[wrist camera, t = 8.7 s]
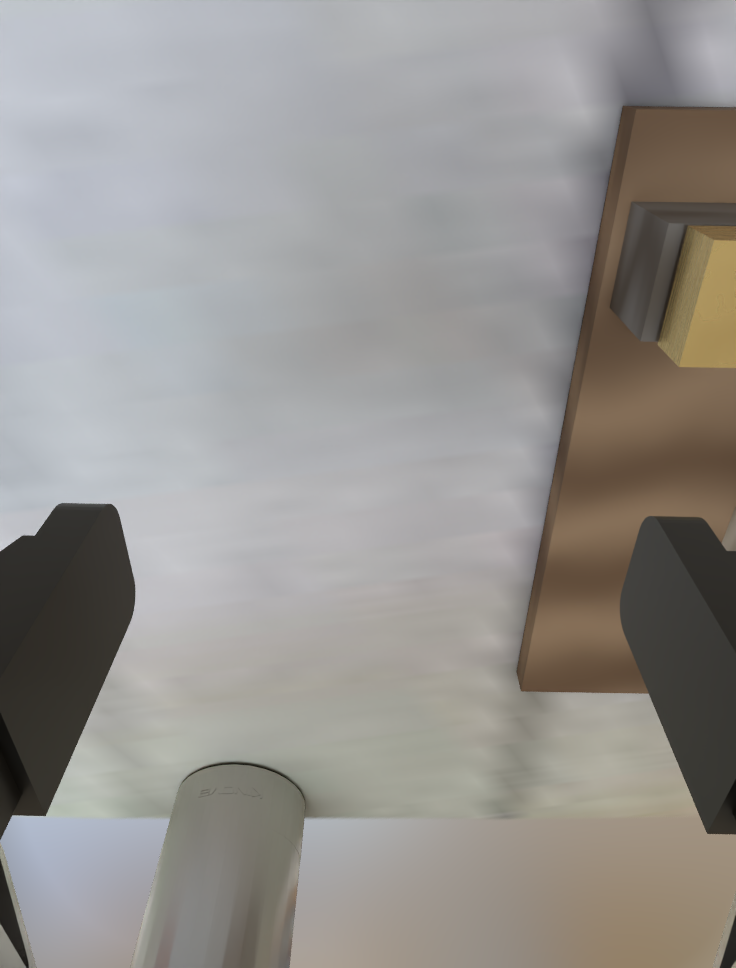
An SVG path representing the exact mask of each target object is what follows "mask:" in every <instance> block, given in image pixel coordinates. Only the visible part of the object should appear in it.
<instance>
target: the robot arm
mask: <svg viewBox="0 0 736 968" xmlns="http://www.w3.org/2000/svg"><path fill="white" fill-rule="evenodd" d="M134 605H135V582H134V577H133V573H132V568H131V564H130V560H129V555H128V551H127V547H126V543H125V538H124V534H123V530H122V525H121V521H120V517H119V514H118V511H117V509H116V508H115V507H114V506H113V505H112V504H77V503H61V504H59V505H57V506H56V507H55V508H54V510H53V511H52V512H51V514H50V515H49V517H48V518H47V519H46V521H45V522H44V524H43V525H42V527H41V528H40V529H39V531H38V532H37V534H36V535H35V536H21V537H20V538H19V539H17V540H16V541H14V542H13V543H12V544H10V545H9V546H7V547H6V548H5V549H3V550H2V551H0V839H1V837H2V835H3V833H4V831H5V829H6V827H7V825H8V823H9V821H10V819H11V817H12V815H26V816H46V814H47V811H48V809H49V807H50V805H51V802H52V800H53V798H54V795H55V793H56V791H57V788H58V786H59V784H60V782H61V779H62V777H63V775H64V772H65V770H66V768H67V766H68V763H69V761H70V759H71V756H72V754H73V752H74V750H75V747H76V745H77V743H78V740H79V738H80V736H81V734H82V731H83V729H84V727H85V724H86V722H87V720H88V718H89V715H90V713H91V711H92V708H93V706H94V704H95V702H96V699H97V697H98V695H99V692H100V690H101V688H102V686H103V683H104V681H105V679H106V676H107V674H108V672H109V670H110V667H111V665H112V663H113V660H114V658H115V656H116V654H117V651H118V649H119V647H120V644H121V642H122V640H123V638H124V635H125V633H126V631H127V628H128V626H129V624H130V621H131V619H132V615H133V611H134ZM620 619H621V625H622V629H623V632H624V635H625V637H626V640H627V642H628V645H629V647H630V649H631V652H632V654H633V657H634V659H635V661H636V664H637V666H638V669H639V671H640V673H641V676H642V678H643V681H644V683H645V685H646V688H647V690H648V693H649V695H650V697H651V700H652V702H653V705H654V707H655V709H656V712H657V714H658V717H659V719H660V721H661V724H662V726H663V729H664V731H665V733H666V736H667V738H668V741H669V743H670V745H671V748H672V750H673V753H674V755H675V757H676V760H677V762H678V765H679V767H680V769H681V772H682V774H683V777H684V779H685V781H686V784H687V786H688V789H689V791H690V793H691V796H692V798H693V801H694V803H695V806H696V808H697V810H698V813H699V815H700V818H701V820H702V822H703V825H704V827H705V830H706V832H707V833H708V834H736V551H726V549H725V548H724V546H723V545H722V543H721V542H720V541H719V539H718V538H717V536H716V535H715V533H714V532H713V530H712V529H711V527H710V526H709V525H708V523H707V522H706V521H705V520H704V519H703V518H701V517H675V516H648V517H646V518H645V519H644V521H643V522H642V524H641V526H640V529H639V533H638V536H637V539H636V543H635V546H634V550H633V553H632V557H631V560H630V564H629V567H628V571H627V574H626V577H625V581H624V584H623V588H622V592H621V597H620ZM304 817H305V801H304V798H303V796H302V793H301V792H300V791H299V790H298V788H297V787H296V786H295V785H294V784H293V783H291V782H290V781H289V780H288V779H286V778H284V777H282V776H280V775H279V774H277V773H274V772H272V771H269V770H266V769H263V768H258V767H254V766H248V765H236V764H233V765H219V766H214V767H209V768H206V769H203V770H200V771H198V772H196V773H194V774H192V775H191V776H189V777H188V778H187V779H186V780H185V781H184V782H183V783H182V784H181V786H180V788H179V790H178V792H177V796H176V800H175V803H174V807H173V811H172V814H171V818H170V822H169V826H168V829H167V833H166V837H165V841H164V844H163V847H162V850H161V854H160V858H159V862H158V865H157V869H156V873H155V877H154V880H153V884H152V887H151V891H150V895H149V899H148V902H147V906H146V910H145V914H144V917H143V921H142V925H141V928H140V932H139V936H138V939H137V943H136V947H135V950H134V954H133V958H132V962H131V965H130V968H289V967H290V966H289V965H290V957H291V946H292V936H293V926H294V915H295V906H296V896H297V886H298V876H299V866H300V858H301V847H302V837H303V826H304ZM0 968H37V967H36V964H35V960H34V957H33V953H32V950H31V946H30V942H29V939H28V935H27V932H26V928H25V925H24V921H23V918H22V914H21V910H20V907H19V903H18V900H17V896H16V893H15V889H14V886H13V882H12V879H11V875H10V871H9V868H8V864H7V861H6V857H5V854H4V850H3V848H2V846H1V844H0ZM713 968H736V893H735V897H734V900H733V903H732V906H731V909H730V913H729V916H728V919H727V922H726V926H725V929H724V932H723V935H722V939H721V942H720V945H719V948H718V952H717V955H716V958H715V961H714V965H713Z"/></svg>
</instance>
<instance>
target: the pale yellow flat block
mask: <svg viewBox="0 0 736 968" xmlns="http://www.w3.org/2000/svg"><path fill="white" fill-rule="evenodd" d="M658 346H659V347H660V348H661V349H662V350H663V351H664V352H665V353H666V354H667V355H668V356H669V357H670V358H671V359H672V361H673V362H674V363H675V364H676V365H677V366H678V367H705V368H736V226H688V227H687V231H686V235H685V239H684V243H683V247H682V250H681V254H680V258H679V262H678V266H677V270H676V274H675V278H674V282H673V286H672V290H671V294H670V297H669V301H668V305H667V309H666V313H665V317H664V321H663V325H662V329H661V333H660V337H659V341H658Z"/></svg>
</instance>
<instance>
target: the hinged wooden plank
mask: <svg viewBox="0 0 736 968" xmlns="http://www.w3.org/2000/svg"><path fill="white" fill-rule="evenodd" d="M688 226H736V108H733V107H652V106H623V109H622V115H621V120H620V125H619V130H618V136H617V141H616V146H615V152H614V157H613V162H612V168H611V173H610V178H609V184H608V189H607V194H606V200H605V205H604V210H603V216H602V221H601V226H600V231H599V237H598V242H597V247H596V253H595V258H594V263H593V269H592V274H591V279H590V285H589V290H588V295H587V301H586V306H585V311H584V317H583V322H582V327H581V332H580V338H579V343H578V348H577V354H576V359H575V364H574V370H573V375H572V380H571V386H570V391H569V396H568V402H567V407H566V412H565V417H564V423H563V428H562V433H561V439H560V444H559V449H558V455H557V460H556V465H555V471H554V476H553V481H552V487H551V492H550V497H549V503H548V508H547V513H546V518H545V524H544V529H543V534H542V540H541V545H540V550H539V556H538V561H537V566H536V572H535V577H534V582H533V588H532V593H531V598H530V604H529V609H528V614H527V619H526V625H525V630H524V635H523V641H522V646H521V651H520V657H519V662H518V667H517V675H518V680H519V684H520V689H521V691H533V692H591V693H648V690H647V688H646V685H645V683H644V681H643V678H642V676H641V673H640V671H639V669H638V666H637V664H636V661H635V659H634V657H633V654H632V652H631V649H630V647H629V645H628V642H627V640H626V637H625V635H624V632H623V629H622V625H621V619H620V597H621V592H622V588H623V584H624V581H625V577H626V574H627V571H628V567H629V564H630V560H631V557H632V553H633V550H634V546H635V543H636V539H637V536H638V533H639V529H640V526H641V524H642V522H643V521H644V519H645V518H646V517H648V516H675V517H701V518H703V519H704V520H705V521H706V522H707V523H708V525H709V526H710V527H711V529H712V530H713V532H714V533H715V535H716V536H717V538H718V539H719V541H720V542H721V543H722V545H723V546H724V548H725V549H726V551H736V368H705V367H678V366H677V365H676V364H675V363H674V362H673V361H672V359H671V358H670V357H669V356H668V355H667V354H666V353H665V352H664V351H663V350H662V349H661V348H660V347H659V346H658V341H659V337H660V333H661V329H662V325H663V321H664V317H665V313H666V309H667V305H668V301H669V297H670V294H671V290H672V286H673V282H674V278H675V274H676V270H677V266H678V262H679V258H680V254H681V250H682V247H683V243H684V239H685V235H686V231H687V227H688Z"/></svg>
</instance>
